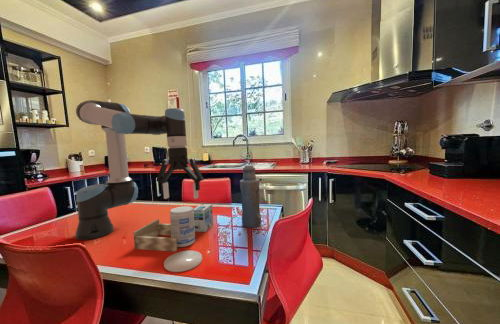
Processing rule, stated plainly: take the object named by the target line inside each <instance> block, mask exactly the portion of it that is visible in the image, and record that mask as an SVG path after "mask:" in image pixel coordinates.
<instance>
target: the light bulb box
mask: <svg viewBox="0 0 500 324" xmlns="http://www.w3.org/2000/svg"><path fill="white" fill-rule="evenodd" d="M193 211H194V229H195V233H196V232H197V233H198V232H199V233H206V232H207V231H209V229H210V228H211V227H213V225H214V213H213V204H212V203H211V204H210V203H200V204H198V205H197V206H195V207H194V208H193Z"/></svg>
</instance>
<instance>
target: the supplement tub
mask: <svg viewBox="0 0 500 324" xmlns="http://www.w3.org/2000/svg"><path fill="white" fill-rule="evenodd" d="M193 209H194V208H193V206H187V205H185V206H184V205H183V206H178V207H174V208H171V209H170V210H169V211H170V213H169V216H170V217H169V218H170V224H171V235H170V236H171V237H170V238H176V242H177V248H186V247H188V246H191V245H193V244H194V243H195V241H196V231H195V229H194V211H193Z"/></svg>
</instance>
